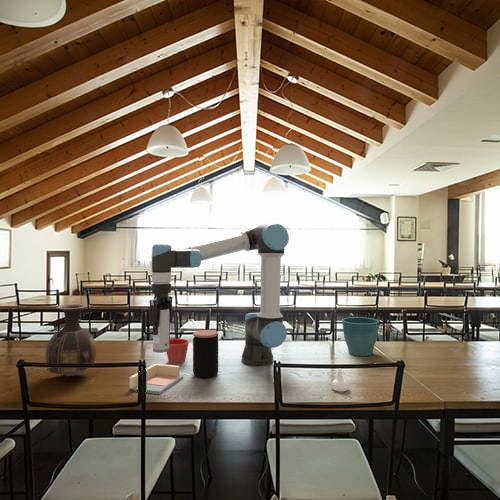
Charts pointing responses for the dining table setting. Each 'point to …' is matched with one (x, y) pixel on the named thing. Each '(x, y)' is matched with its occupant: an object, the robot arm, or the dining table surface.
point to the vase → (71, 343)
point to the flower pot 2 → (360, 335)
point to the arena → (158, 378)
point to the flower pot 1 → (177, 351)
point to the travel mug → (163, 329)
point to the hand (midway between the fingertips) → (161, 340)
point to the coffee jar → (205, 354)
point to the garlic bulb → (339, 383)
